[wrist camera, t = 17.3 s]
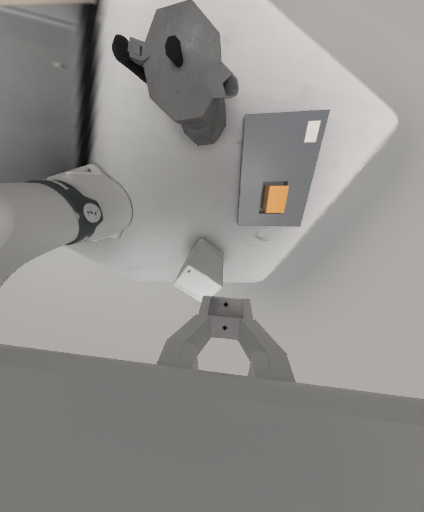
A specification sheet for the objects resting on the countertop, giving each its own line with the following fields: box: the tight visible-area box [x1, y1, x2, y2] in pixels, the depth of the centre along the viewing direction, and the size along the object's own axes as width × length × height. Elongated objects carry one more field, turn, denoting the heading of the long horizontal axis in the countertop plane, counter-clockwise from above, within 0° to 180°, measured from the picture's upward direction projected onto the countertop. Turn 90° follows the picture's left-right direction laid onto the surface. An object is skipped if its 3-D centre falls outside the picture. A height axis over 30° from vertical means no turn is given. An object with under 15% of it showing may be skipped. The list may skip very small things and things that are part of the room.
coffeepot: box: [112, 0, 238, 146], centre depth 22 cm, size 15×9×18 cm, turn 73°
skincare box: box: [173, 238, 224, 303], centre depth 36 cm, size 8×7×16 cm
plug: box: [262, 185, 289, 213], centre depth 32 cm, size 4×5×6 cm
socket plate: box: [237, 110, 330, 226], centre depth 31 cm, size 14×20×4 cm
